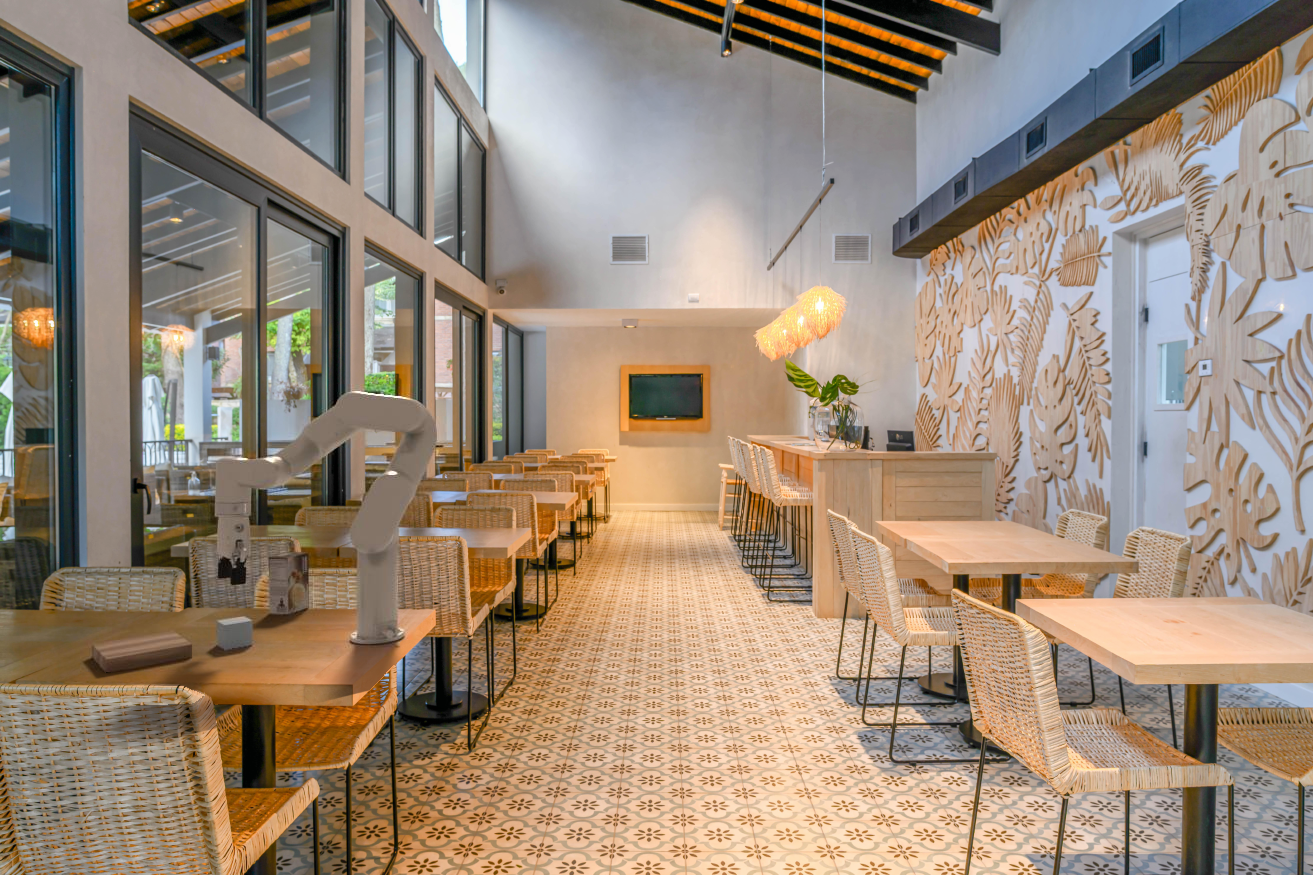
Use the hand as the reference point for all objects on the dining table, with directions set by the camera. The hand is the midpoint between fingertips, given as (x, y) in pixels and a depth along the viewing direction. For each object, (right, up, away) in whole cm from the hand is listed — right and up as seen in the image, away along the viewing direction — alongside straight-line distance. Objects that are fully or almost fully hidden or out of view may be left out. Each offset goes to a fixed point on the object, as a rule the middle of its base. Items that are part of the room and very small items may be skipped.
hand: (231, 581), depth 184 cm
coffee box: (-3, -15, +35) cm, 38 cm away
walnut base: (-15, -16, -10) cm, 24 cm away
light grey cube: (+1, -16, 0) cm, 15 cm away
